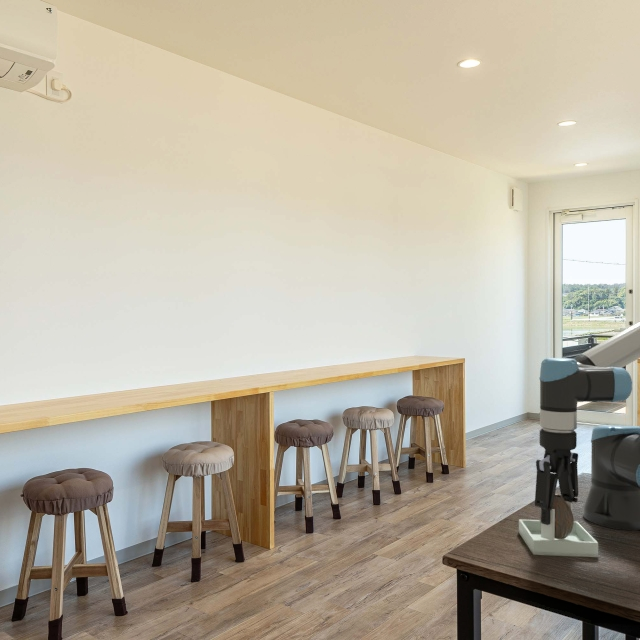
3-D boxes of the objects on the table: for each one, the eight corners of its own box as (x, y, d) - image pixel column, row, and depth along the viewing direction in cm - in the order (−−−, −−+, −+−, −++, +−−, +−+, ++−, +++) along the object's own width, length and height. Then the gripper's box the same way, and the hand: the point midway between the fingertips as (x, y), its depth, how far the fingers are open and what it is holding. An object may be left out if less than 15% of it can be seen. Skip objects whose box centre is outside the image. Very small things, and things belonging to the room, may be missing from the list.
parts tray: (577, 534, 140) (577, 521, 140) (597, 557, 127) (598, 542, 127) (518, 532, 141) (518, 519, 141) (533, 554, 128) (533, 540, 128)
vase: (580, 537, 133) (580, 497, 133) (561, 544, 130) (561, 502, 129) (552, 528, 139) (552, 489, 139) (533, 534, 135) (533, 494, 135)
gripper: (564, 421, 143) (563, 520, 143) (517, 432, 130) (516, 540, 131) (596, 426, 137) (595, 529, 138) (550, 437, 125) (548, 550, 125)
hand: (556, 534), depth 134 cm, fingers closed on vase, 7 cm apart
